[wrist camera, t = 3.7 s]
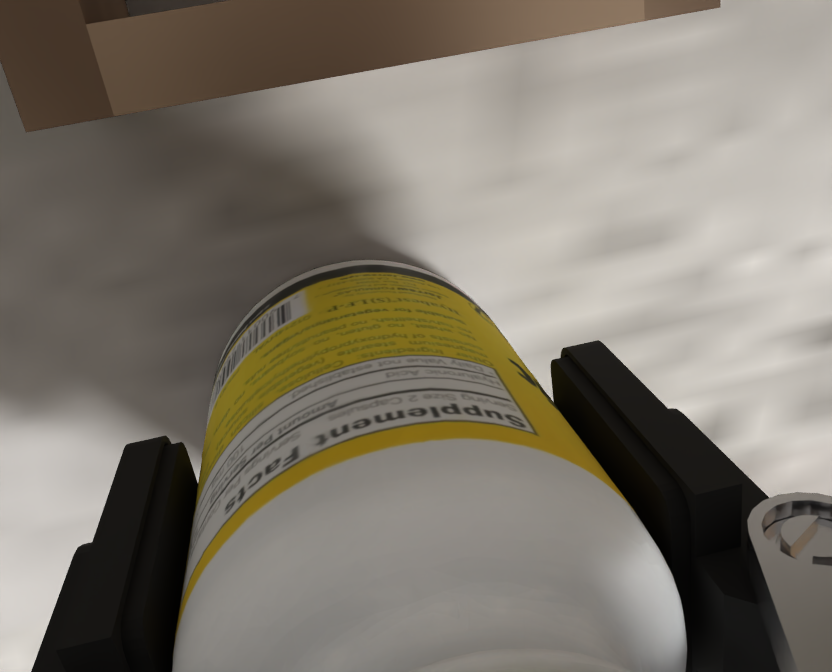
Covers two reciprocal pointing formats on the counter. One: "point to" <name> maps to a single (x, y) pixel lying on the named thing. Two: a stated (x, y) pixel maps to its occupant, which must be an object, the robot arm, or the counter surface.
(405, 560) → the supplement bottle
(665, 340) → the counter surface
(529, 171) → the counter surface
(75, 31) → the box
